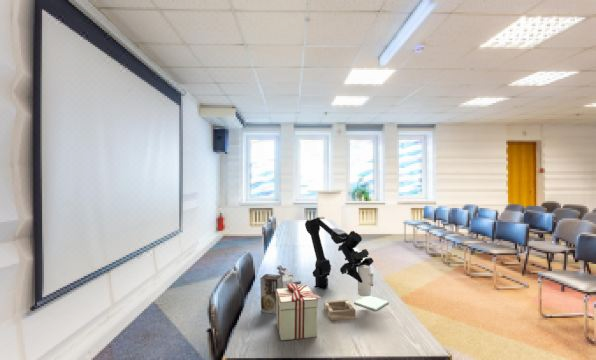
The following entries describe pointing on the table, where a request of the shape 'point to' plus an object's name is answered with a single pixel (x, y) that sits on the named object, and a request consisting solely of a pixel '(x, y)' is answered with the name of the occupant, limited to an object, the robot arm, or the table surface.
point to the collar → (339, 314)
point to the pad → (371, 302)
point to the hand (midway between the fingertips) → (366, 281)
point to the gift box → (296, 312)
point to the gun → (287, 274)
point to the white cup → (286, 281)
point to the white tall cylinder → (365, 280)
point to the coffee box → (269, 292)
